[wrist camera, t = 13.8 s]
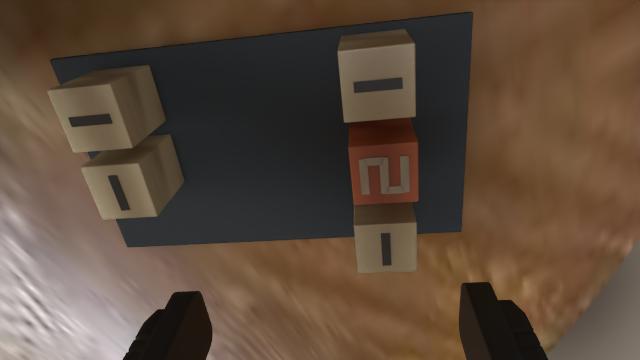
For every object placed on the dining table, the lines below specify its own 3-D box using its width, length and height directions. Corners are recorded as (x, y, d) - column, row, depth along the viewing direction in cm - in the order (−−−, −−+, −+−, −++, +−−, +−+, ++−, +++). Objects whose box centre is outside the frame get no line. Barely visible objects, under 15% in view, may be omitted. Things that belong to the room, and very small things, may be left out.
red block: (354, 170, 30) (353, 206, 25) (349, 118, 28) (348, 147, 24) (409, 166, 29) (418, 202, 25) (408, 113, 28) (418, 142, 23)
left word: (137, 184, 32) (101, 220, 28) (94, 70, 28) (44, 90, 23) (185, 181, 32) (156, 217, 27) (149, 64, 27) (108, 84, 23)
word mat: (129, 244, 36) (127, 247, 35) (53, 58, 28) (49, 59, 28) (460, 228, 32) (461, 231, 32) (471, 11, 25) (473, 12, 24)
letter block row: (358, 231, 32) (358, 274, 28) (340, 35, 26) (337, 51, 21) (408, 229, 32) (417, 272, 27) (405, 28, 25) (415, 42, 21)
